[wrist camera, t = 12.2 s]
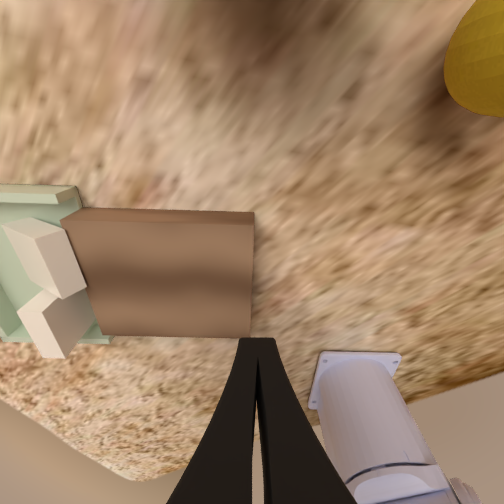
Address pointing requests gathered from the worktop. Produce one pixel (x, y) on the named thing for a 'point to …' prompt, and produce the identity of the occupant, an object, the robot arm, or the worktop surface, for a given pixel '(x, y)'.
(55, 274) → the tile near
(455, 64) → the lemon
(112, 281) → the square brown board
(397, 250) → the worktop surface
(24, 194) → the tray
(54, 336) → the tile far
